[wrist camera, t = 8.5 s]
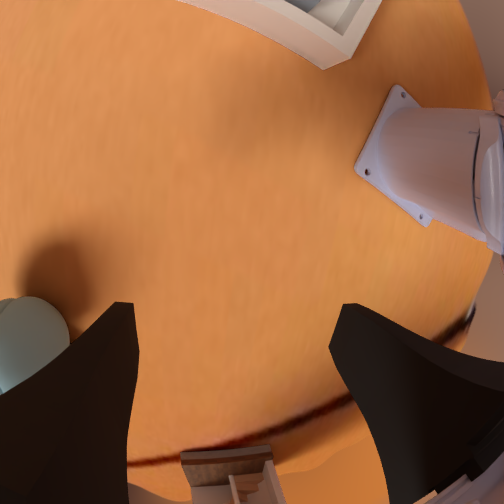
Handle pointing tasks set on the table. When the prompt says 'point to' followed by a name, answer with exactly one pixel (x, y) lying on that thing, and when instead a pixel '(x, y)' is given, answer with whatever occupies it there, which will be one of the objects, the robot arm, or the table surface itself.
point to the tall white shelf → (233, 476)
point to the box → (302, 24)
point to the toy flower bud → (28, 338)
